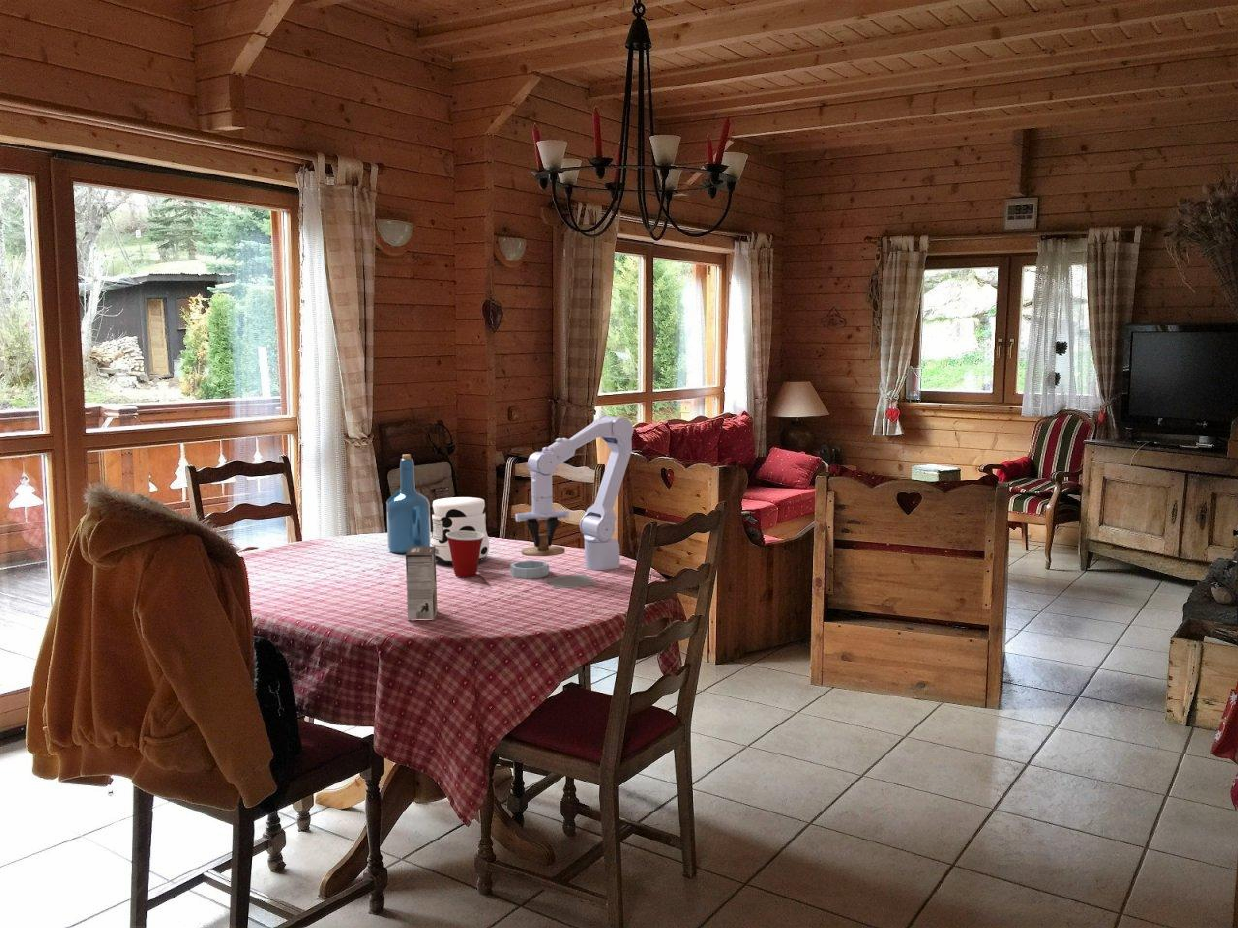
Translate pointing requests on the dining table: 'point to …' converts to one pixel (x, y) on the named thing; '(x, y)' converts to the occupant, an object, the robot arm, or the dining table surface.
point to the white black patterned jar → (457, 523)
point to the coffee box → (421, 582)
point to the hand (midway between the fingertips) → (542, 545)
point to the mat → (570, 581)
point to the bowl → (529, 569)
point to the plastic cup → (465, 551)
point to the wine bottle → (407, 513)
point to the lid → (543, 548)
